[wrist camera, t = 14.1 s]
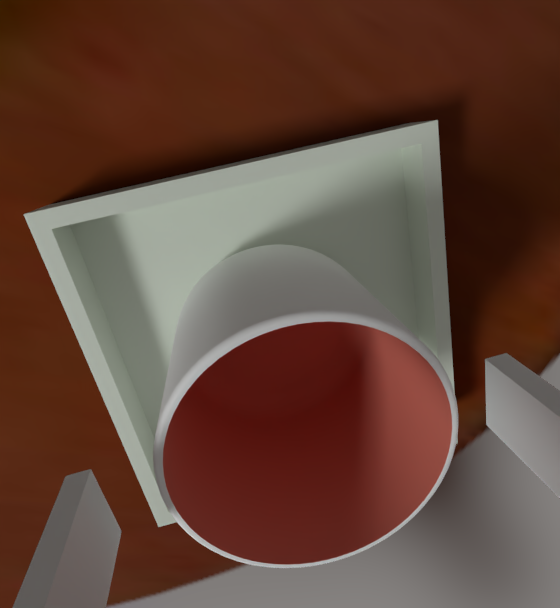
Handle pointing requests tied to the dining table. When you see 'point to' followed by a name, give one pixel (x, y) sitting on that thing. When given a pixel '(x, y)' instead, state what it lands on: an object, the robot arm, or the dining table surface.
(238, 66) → the dining table surface
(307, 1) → the dining table surface
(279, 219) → the tray
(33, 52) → the dining table surface
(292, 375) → the cup
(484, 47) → the dining table surface
